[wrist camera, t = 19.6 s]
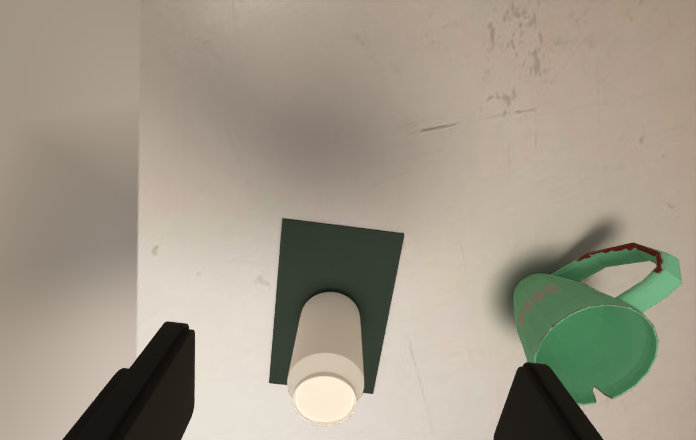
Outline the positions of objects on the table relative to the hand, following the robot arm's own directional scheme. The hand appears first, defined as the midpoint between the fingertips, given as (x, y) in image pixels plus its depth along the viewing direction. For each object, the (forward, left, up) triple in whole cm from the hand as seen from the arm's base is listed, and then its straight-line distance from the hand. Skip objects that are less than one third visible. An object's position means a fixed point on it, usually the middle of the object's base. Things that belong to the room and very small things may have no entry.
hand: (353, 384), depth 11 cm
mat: (+2, -15, -26) cm, 30 cm away
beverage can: (+2, -15, -26) cm, 30 cm away
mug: (+23, -5, -26) cm, 35 cm away
